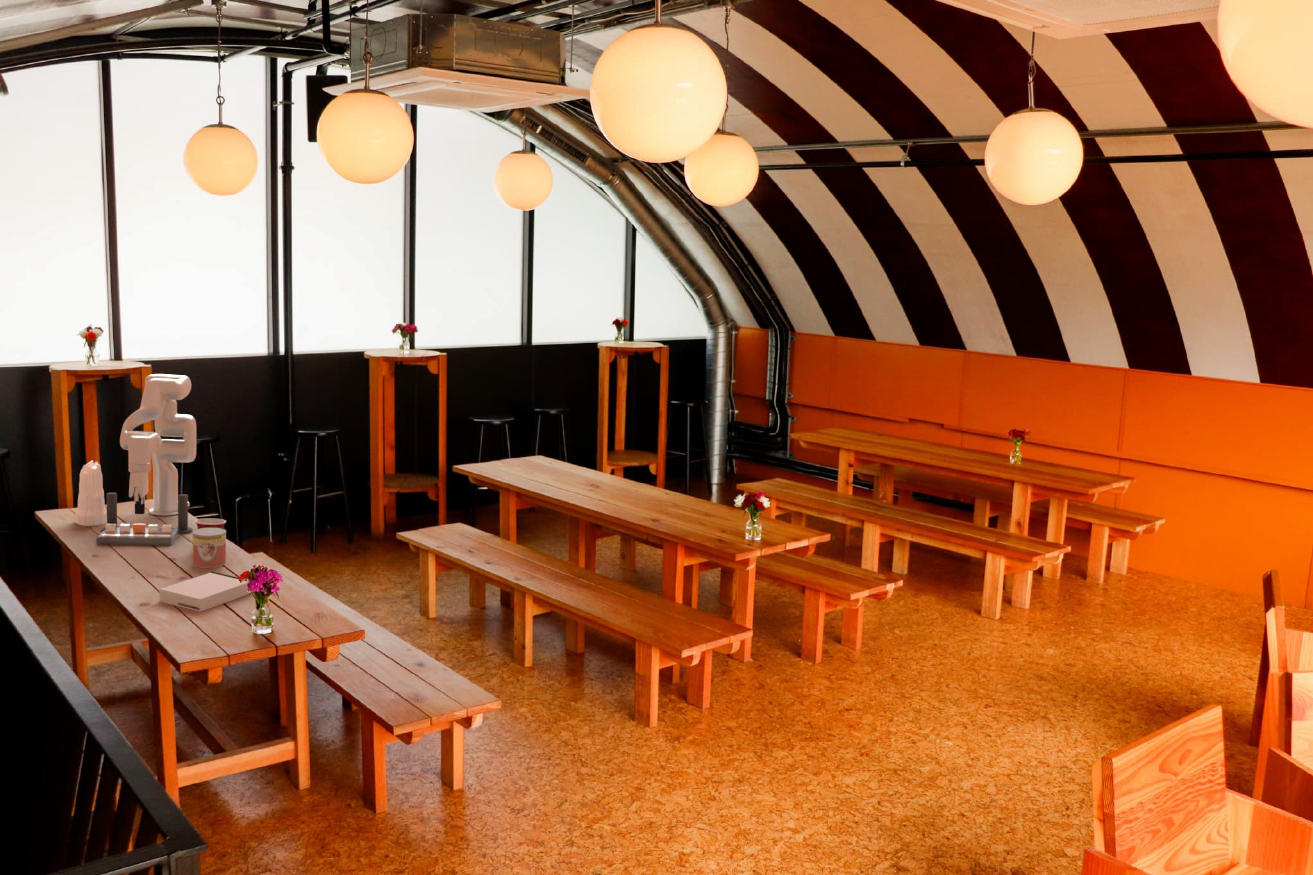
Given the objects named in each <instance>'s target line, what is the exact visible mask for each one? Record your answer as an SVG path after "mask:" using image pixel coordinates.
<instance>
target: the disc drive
mask: <svg viewBox="0 0 1313 875" xmlns="http://www.w3.org/2000/svg"><path fill="white" fill-rule="evenodd" d="M239 578H240V577H236V576H233V575H229V574H224V573H221V572H215V571H210V572H207V573H206V574H205V573H204V574H203V575H199V576H195V577H192V578H190V579H186V580H183V581H180V582H178V583H174V584H171V585H166V586H165V587H161V588H160V589H159V600H158V601H159V602H160V603H165V604H169V605H172V606H174V607H175V606H176V607H180V608H184V609H189V610H190V611H191V610H192V611H196V612H203V611H206V610H208V609H211V608H214V607H217V606H220V605H222V604H225V603H228V602H230V601H233V600H236V599H239V598H241V597H244V596H247V595H250V594H249V593H248V592H247V580H248V579H246V580H245V581H243V582H242V583H240V581H239Z"/></svg>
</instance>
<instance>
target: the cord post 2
mask: <svg viewBox="0 0 1313 875" xmlns="http://www.w3.org/2000/svg"><path fill="white" fill-rule="evenodd" d="M188 502H189V494H184V493H181V494H178V514H177V528H180V535H186V534H190V533H193V528H192V527H189V526H188V525H189V506H188Z"/></svg>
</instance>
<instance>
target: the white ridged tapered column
mask: <svg viewBox="0 0 1313 875" xmlns="http://www.w3.org/2000/svg"><path fill="white" fill-rule="evenodd" d="M103 480H104V479H103V473H102V468H101V463H98V461H95V462H94V460H93V459H92V460H90V461H89V462H88V463H86V464H83V466H82V468H81V470H80V473H79V482H78V487H79V488H78V498H77V509H76V512H75V524H76V525H78V526H82V527H94V526H101V525H104V524H107V509H106V507H105V490H104V488H103V482H104V481H103Z"/></svg>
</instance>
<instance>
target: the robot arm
mask: <svg viewBox="0 0 1313 875" xmlns="http://www.w3.org/2000/svg"><path fill="white" fill-rule="evenodd" d="M144 380H145V381H144V384H145V385H144V388H143V392H142V393H143V394H142V397H141V402H140V406H139V408H138V409H137V410H135V411H134V412H133V413H131V414H130V415H129V416H128V417H127V418H126V419H125V421H124V422H123V424H122V428H121V432H120V437H119V445H120V447H121V448H122V450H124V451H125V450H126V451H128V472H129V473H130V474H129V486H128V487H129V489H128V497H129V498H130V499H131V498H134V501H133V502H134V515H144V514H145V513H146V507H145V506H146V504H145V502H146V501H145V500H146V495H147V494H148V493H149V473H150V472H151V468H152V492H153V493H152V495H153V496H152V506H153V507H151V508H150V509H149V510H148V512H149V514H150V515H153V516H161V517H162V516H163V517H167V516H174V515H175V516H176V515H178V495H179V485H178V484H179V473H178V468H176V466H175V465H174V464H173V463H191V462H192V463H193V462H194V461H195V459H196V456H197V422H196V418H195V417H194V416H193V415H191V414H184V413H183V414H182V413H181V414H180V413H178V402H177V401H181V400H183V399H185V398H186V397H187V396H188V395H189V394H190V392H191V390H192V382H191V379H190V377H189V376H187V375H181V374H180V375H179V374H168V373H167V374H165V373H154V374H153V373H152V374H149V375H146V377H145V379H144ZM152 421H154V431H142V430H140V431H139V430H134V429H135V428H137V427H139V426H141V425H143V424H145V423H148V422H152ZM162 437H175V438H176V437H177V438H178V437H179V438H182V439H174V438H172V439H171V438H170V439H169V438H164V439H163V438H162ZM151 460H152V467H151ZM190 505H191V504H190V502H189V501H188V507H190Z"/></svg>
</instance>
